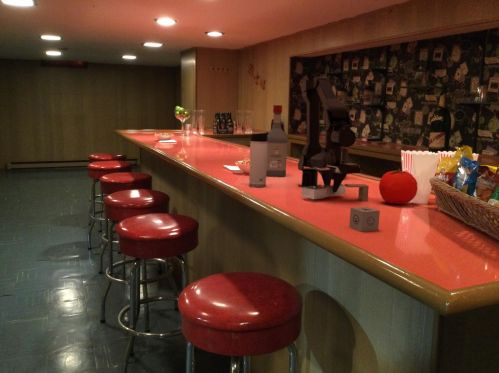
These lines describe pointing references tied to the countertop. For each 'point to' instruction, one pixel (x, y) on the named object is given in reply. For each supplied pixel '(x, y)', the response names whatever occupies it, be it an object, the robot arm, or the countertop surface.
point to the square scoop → (321, 191)
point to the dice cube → (364, 219)
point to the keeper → (360, 191)
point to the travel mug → (258, 160)
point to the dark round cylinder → (314, 188)
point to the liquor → (276, 147)
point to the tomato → (398, 187)
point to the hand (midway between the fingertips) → (331, 191)
